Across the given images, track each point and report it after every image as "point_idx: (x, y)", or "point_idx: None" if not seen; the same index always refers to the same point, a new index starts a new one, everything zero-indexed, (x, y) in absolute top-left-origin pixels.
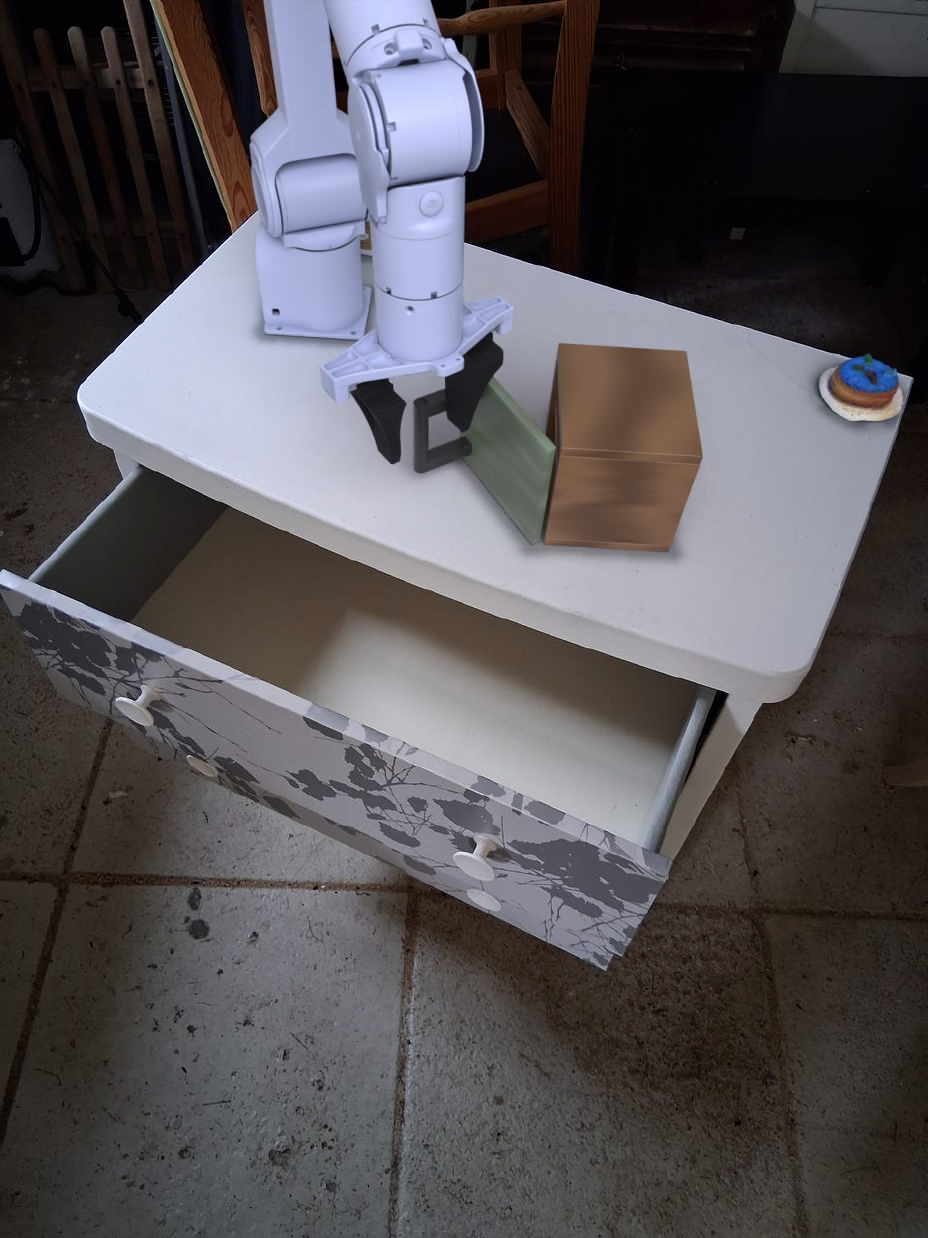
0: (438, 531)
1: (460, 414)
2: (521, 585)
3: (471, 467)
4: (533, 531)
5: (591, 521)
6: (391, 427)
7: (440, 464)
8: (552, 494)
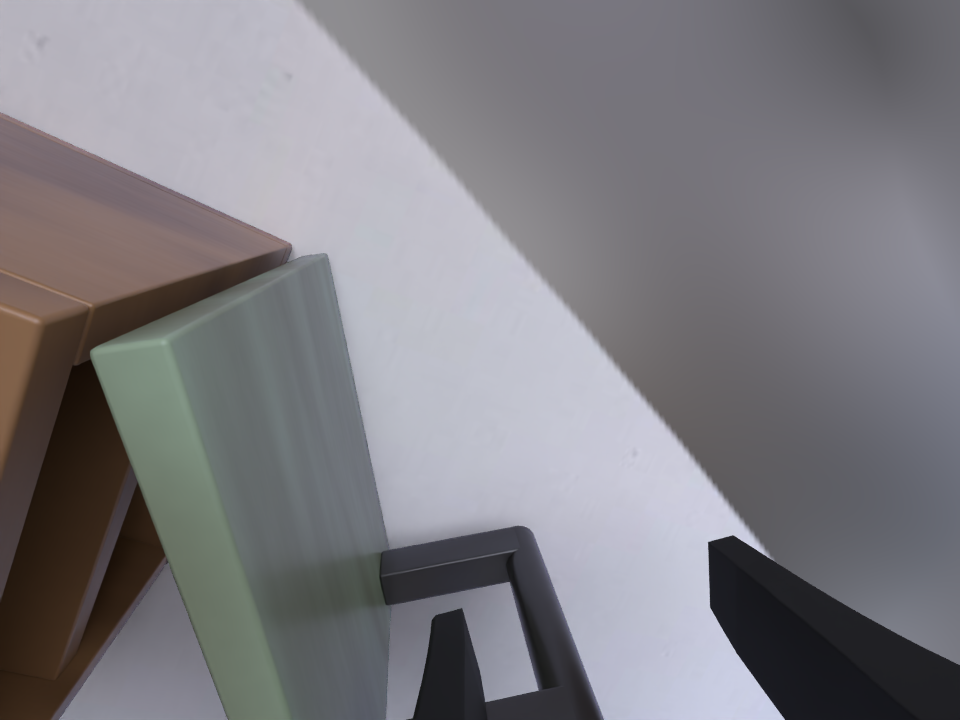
0: (526, 374)
1: (471, 685)
2: (404, 139)
3: (383, 522)
4: (318, 260)
5: (115, 186)
6: (949, 687)
7: (472, 539)
8: (224, 274)
